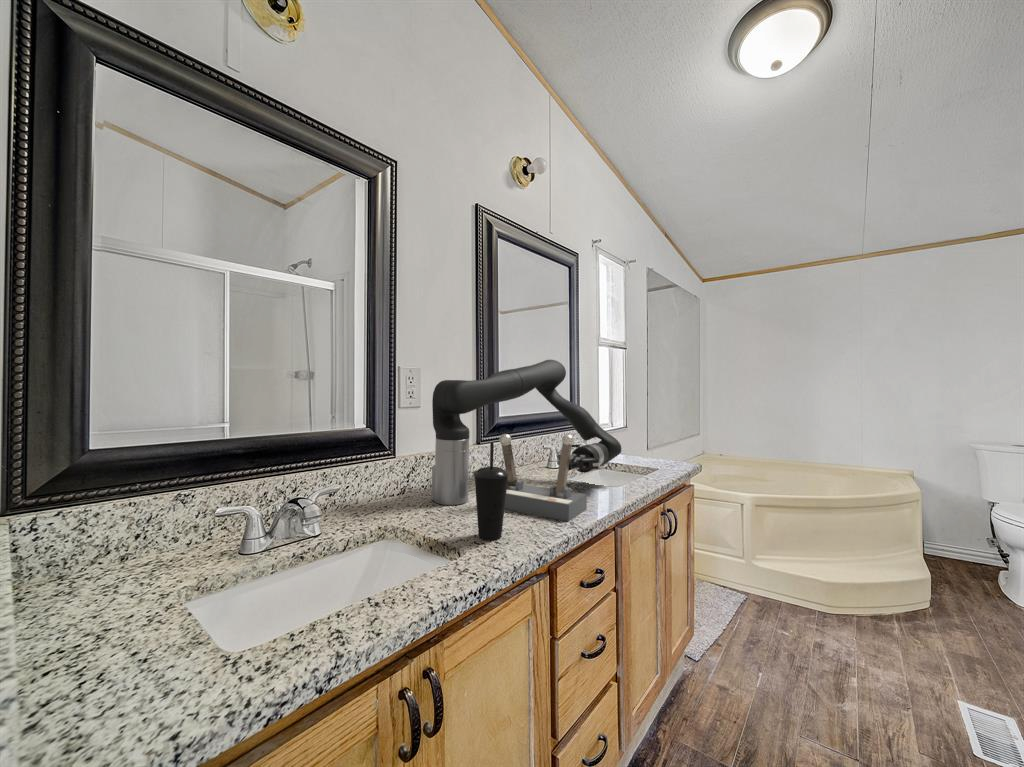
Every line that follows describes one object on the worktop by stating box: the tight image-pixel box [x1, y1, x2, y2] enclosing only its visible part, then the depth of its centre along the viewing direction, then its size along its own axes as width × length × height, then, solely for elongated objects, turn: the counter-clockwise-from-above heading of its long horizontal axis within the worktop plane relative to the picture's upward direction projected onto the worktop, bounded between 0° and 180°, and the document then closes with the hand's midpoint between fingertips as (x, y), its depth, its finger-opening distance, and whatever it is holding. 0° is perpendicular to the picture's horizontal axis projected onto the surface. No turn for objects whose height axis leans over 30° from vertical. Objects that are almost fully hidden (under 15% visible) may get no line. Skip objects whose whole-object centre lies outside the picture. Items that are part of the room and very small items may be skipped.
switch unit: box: [504, 480, 588, 522], centre depth 114 cm, size 24×12×6 cm, turn 60°
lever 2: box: [555, 433, 575, 493], centre depth 112 cm, size 3×3×15 cm
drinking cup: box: [472, 441, 509, 541], centre depth 91 cm, size 8×8×20 cm
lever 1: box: [498, 433, 518, 487], centre depth 115 cm, size 3×3×15 cm
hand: (565, 466), depth 113 cm, fingers closed
